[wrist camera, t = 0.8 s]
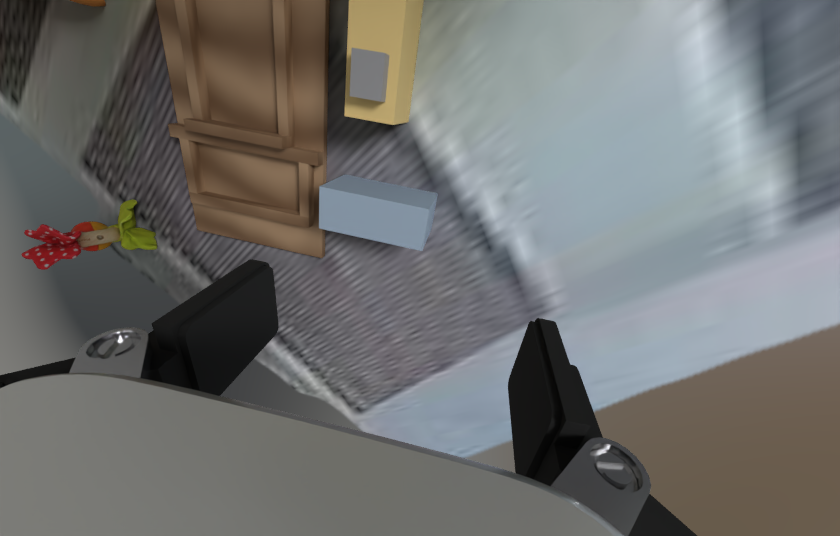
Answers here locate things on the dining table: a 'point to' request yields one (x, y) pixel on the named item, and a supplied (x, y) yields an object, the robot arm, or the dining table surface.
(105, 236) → the bird rattle
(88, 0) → the toy rocket
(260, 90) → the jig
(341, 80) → the dining table surface
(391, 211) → the plank
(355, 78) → the block
